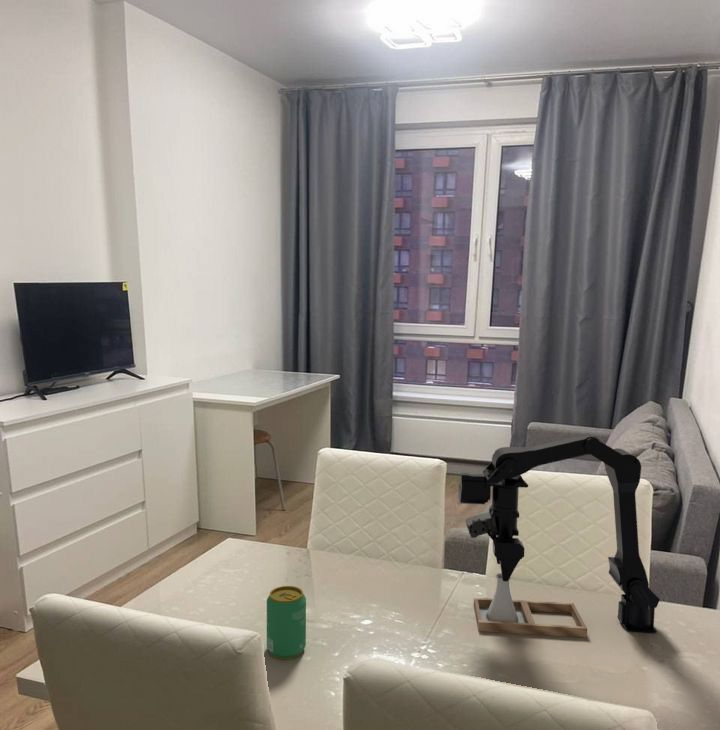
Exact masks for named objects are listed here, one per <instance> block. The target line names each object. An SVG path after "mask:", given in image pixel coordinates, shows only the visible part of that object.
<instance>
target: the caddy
mask: <svg viewBox="0 0 720 730" xmlns="http://www.w3.org/2000/svg"><path fill="white" fill-rule="evenodd" d="M492 600H493V598H491V597H490V598H488V597H473V610H474V615H475V620H476V625H477V631H478V632H491V633H492V632H493V633H504V634H505V633H508V634H522V635H540V636H556V637H572V638H587V637H588V627H587V626H586V624H585V621H584V620H583V617H582V616H581V615H580V613H579V611H578V609H577V607H576V605H575V603H574V602H557V601H543V600H541V601H539V600H522V599H512V601H513V604H514V607H515V610H516V613H517V616H518V621H517V622H516V623H515V622H498V621H489V620H488V618H487V616H486V614H487V611H488V609H489V607H490V604H491V602H492ZM532 612H545V613H546V612H550V613H566V614H567V613H568V614H570V615H571V617H572V618H573V620H574V623H575V625H563V624H561V625H560V624H547V623H546V624H544V623H536V621H535V619H534V617H533V615H532Z"/></svg>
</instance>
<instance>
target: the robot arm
mask: <svg viewBox="0 0 720 730" xmlns="http://www.w3.org/2000/svg"><path fill="white" fill-rule="evenodd" d="M588 455H590V456H592V457H594V458H595V459H596V460H598V461H600V462H602V463H603V464H604V467H605V472H606V475H607V478H608V480H609V483H610V485H611V488H612V491H613V492H612V494H613V506H614V508H613V509H614V524H615V537H616V538H615V539H616V552H615V554H614V556H608V557H607V559H608V564H609V570H608V574H609V575H610V577H611V578H612V579H613V582H615V583H616V585H617V586H618V587H619V588H620V590H621V591H622V592H623V594H621V595H620V596H621V597H620V601H618V610H617V620H618V621H619V622H620V624H621V625H622V626H623V628H624V630H626V631H627V632H637V633H639V632H641V633H655V634H656V633H657V631H658V630H657V628H656V627H655V609H656V608H657V607H658V605H659V603H660V598H659V596H658V595H656V593H655V592H654V591H653V590H652V589H651V587H649V586H650V584H649V579H648V576H647V571H646V569H645V566H644V564H643V562H642V559H641V556H640V548H639V547H640V546H639V531H638V514H637V501H636V491H637V490H638V488H639V487H638V486H639V484H640V481H641V473H642V463H641V460H640V459H639V458H637V457H636V456H635V455H633V454H632V453H630V452H628V451H626V450H625V449H623V448H617V447H616V448H613V447H611V446H609V445H607V444H605V443H604V442H602V441H600V439H599V438H597V437H596V436H594V435H592V434H591V433H584V434H581V435H577V436H574V437H569V438H565V439H560V440H555V441H552V442H547V443H544V444H543V443H542V444H539V445H534V446H526V447H525V446H505V447H504V446H503V447H499V448H497V449H496V450H495V451H494V453H493V454H492V457H491V461H490V462H489V464H488V465H487V466H486V467H485V469H483V471H482V474H478V473H469V472H461V473H460V477H459V484H458V491H457V492H458V504H460V505H462V504H463V505H464V504H465V505H484V506H485V505H486V503H489V501H491V505H490V506H489V507H488V512H484V513H479V514H476V515H473V516H469V517H466V518H465V521H464V522H465V525H466V527H467V530H468V534H469V536H470V538H471V539H473V538H474V539H476V538H478V536H481V535H486V534H487V535H488V537H489V538H490V539H491V540H492V552H493V556H494V558H495V559H496V564H497V565H499V566H500V570H501V571H500V572H501V573H502V580H503V581H508V580H509V578H510V577H511V576H512V575H513V573H514V571H515V569H516V567H517V566H518V564H519V562H520V561H521V560H522V559H523V558H524V557H525V546H524V544H523V542H522V541H521V540H520V539H519V538H518V537H519V532H520V531H519V529H518V519H520V512H519V488H523V489H524V488H529V484H528V483H527V481H526V480H525V479H523V477H522V475H523V474H526V473H528V472H530V471H531V470H533V469H534V468H537V467H540V466H542V465H548V464H551V463H556V462H562V461H565V460H570V459H575V458H579V457H583V456H588ZM491 488H492V489H491ZM515 536H516V537H515ZM509 581H510V580H509Z"/></svg>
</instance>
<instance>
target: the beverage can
mask: <svg viewBox="0 0 720 730" xmlns="http://www.w3.org/2000/svg"><path fill="white" fill-rule="evenodd" d="M306 597H307V596H305V594H304V591H303V590H302V588H300V587H298V586H293V585H282V586H279V587H278V586H277V587H276V588H273V589H272V590H271V591H270V592H269V595H268V597H267V598H266V649H267V650H268V652H269V655H270V656H271V657H273V658H275V659H278V660H293V659H296V658H297V657H299V656H301V655H302V654H303V652H304V649H305V648H306V646H307V598H306Z"/></svg>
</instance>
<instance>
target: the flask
mask: <svg viewBox="0 0 720 730" xmlns="http://www.w3.org/2000/svg"><path fill="white" fill-rule="evenodd" d="M495 578H496V579H497V580H496V582H497V583H496V589H495V592H494V593H493V594H494V595H493V598H492V599H493V600H492V602H491V604H490V607H489V609H488V611H487V614H486V616H487V618H488V620H489V621H498V622H515V623H516V622H517V621H518V616H517V613H516V610H515V607H514V604H513V601H512V600H513V598H512V594H511V590H510V589H511V588H510V580H511V576H510V578H509V580H508V581H503V580H502V573H497V574H496V576H495Z"/></svg>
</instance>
